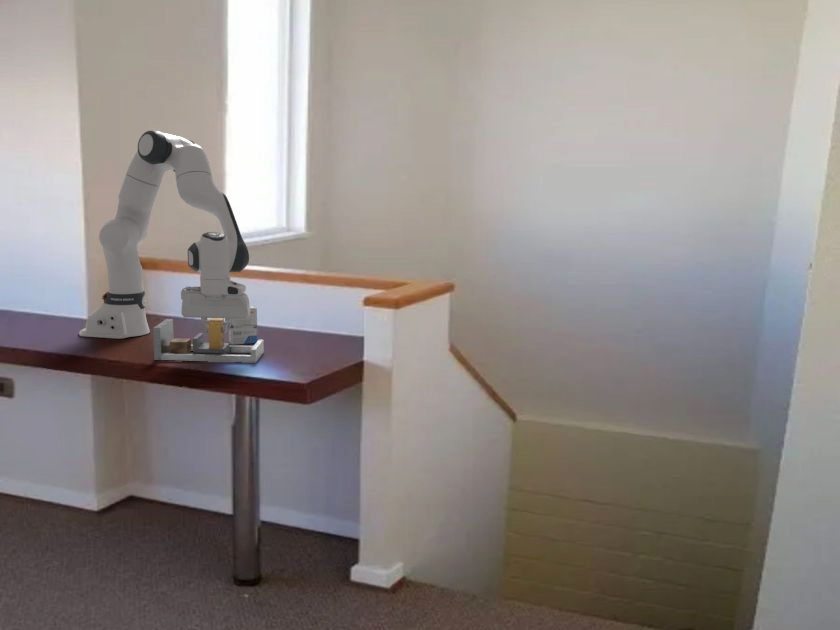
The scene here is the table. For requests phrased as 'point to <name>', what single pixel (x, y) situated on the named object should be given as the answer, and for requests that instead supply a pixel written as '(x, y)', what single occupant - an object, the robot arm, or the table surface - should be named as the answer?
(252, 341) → the ink box
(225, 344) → the slider
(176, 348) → the wooden cube
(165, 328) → the frame
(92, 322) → the robot arm
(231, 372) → the table surface
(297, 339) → the table surface
